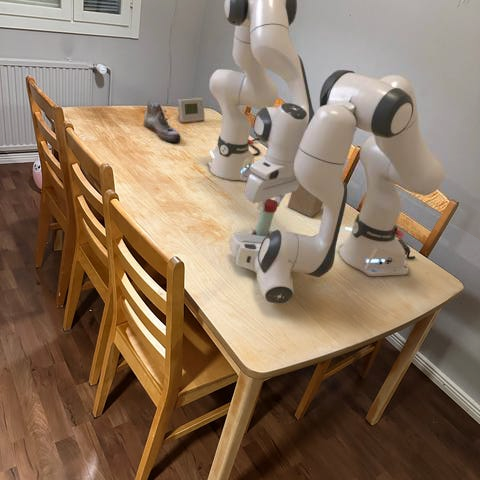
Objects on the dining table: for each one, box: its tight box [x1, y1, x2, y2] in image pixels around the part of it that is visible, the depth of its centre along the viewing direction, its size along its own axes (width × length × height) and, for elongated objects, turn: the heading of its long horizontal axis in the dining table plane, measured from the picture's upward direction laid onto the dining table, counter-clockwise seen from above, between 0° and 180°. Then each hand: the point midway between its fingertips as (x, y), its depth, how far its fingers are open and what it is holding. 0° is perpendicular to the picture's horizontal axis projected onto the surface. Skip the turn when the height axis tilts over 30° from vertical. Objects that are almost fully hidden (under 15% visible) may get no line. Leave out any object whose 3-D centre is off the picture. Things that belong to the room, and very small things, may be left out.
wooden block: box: [287, 184, 324, 218], centre depth 160 cm, size 10×10×20 cm
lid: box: [264, 198, 278, 213], centre depth 128 cm, size 5×5×2 cm
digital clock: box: [177, 97, 206, 124], centre depth 221 cm, size 16×9×11 cm, turn 123°
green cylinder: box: [255, 211, 275, 236], centre depth 132 cm, size 4×4×16 cm
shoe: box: [143, 101, 181, 144], centre depth 198 cm, size 25×11×12 cm, turn 30°
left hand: (268, 208), depth 128 cm, fingers closed on lid, 5 cm apart
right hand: (260, 232), depth 134 cm, fingers closed on green cylinder, 4 cm apart
